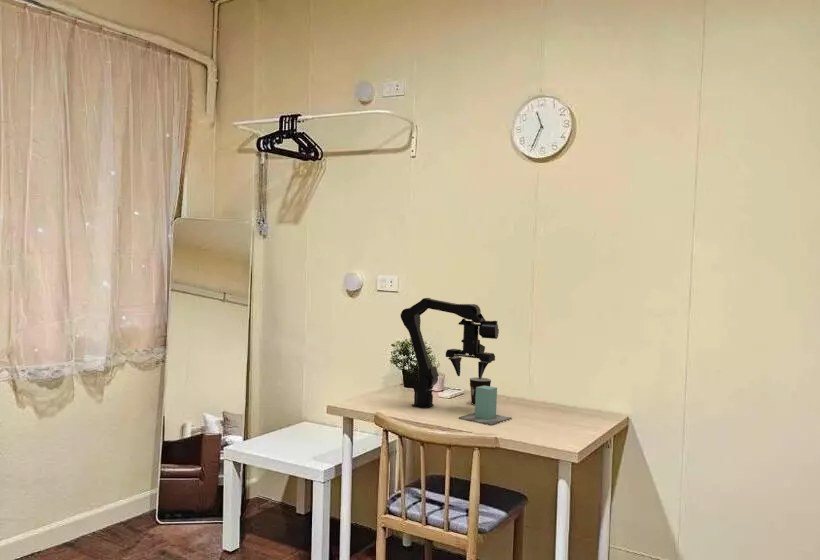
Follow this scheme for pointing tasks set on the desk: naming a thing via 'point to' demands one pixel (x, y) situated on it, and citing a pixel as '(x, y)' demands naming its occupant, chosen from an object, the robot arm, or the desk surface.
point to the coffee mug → (477, 383)
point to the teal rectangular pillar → (485, 402)
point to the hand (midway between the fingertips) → (469, 377)
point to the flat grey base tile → (490, 422)
